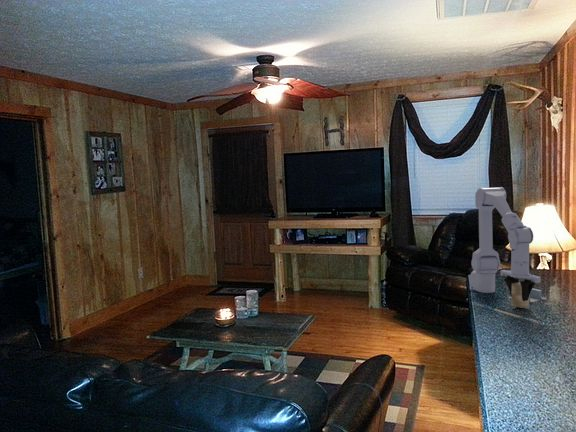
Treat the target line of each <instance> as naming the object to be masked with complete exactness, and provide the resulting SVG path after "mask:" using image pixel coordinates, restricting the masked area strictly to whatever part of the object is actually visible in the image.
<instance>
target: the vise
mask: <svg viewBox="0 0 576 432" xmlns="http://www.w3.org/2000/svg"><path fill="white" fill-rule="evenodd" d="M542 294H543V293H542V290H541V289H537V288H534V287H533V288H532V290H531V292H530V295H529V304H530V303H535V302H538V301H543V300H546V299H548V298H547V297H543V296H542ZM507 298H509V299H511V296H507Z"/></svg>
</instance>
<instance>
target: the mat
mask: <svg viewBox="0 0 576 432" xmlns="http://www.w3.org/2000/svg"><path fill="white" fill-rule="evenodd" d="M493 311H494V312H497V313H501V314H503V315H508V316H511V317H515V318H517V319H519V318H523V317H526V315H524V314H519V313H515V312H512V311H509V310H506V309H501V308H494V309H493Z"/></svg>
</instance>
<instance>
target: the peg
mask: <svg viewBox="0 0 576 432" xmlns="http://www.w3.org/2000/svg"><path fill="white" fill-rule="evenodd" d="M520 282H521V281H519V282H517V283H512V295H511V294H510V297H511V298H510V299H511V300H510V301H511V302H510V305H511V306H513V307H516V308H520V309H522V308H523V309H524V308H526V307H527V308H528V307H529V306H530V303H529V298H528V300H527V301H523V299H522V287H521V284H520Z"/></svg>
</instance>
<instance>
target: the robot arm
mask: <svg viewBox="0 0 576 432" xmlns="http://www.w3.org/2000/svg"><path fill="white" fill-rule="evenodd" d="M474 200H475V201H474V202H475V208H477V209H478V239H479V241H478V242H479V245H478V246H479V248H477V250H475V251H474V252H472V259H471V264H470V265H471V269H472V271H471V272H470V276H469V291H472V290H473V291H475V292H479V293H485V294H486V293H487V294H492V293H495V292H496V273H497V272H498V271H499V270H500V268H501V260H500V254H499V253H498V252H497V251H496V250H495V249H494V244H493V243H494V242H493V240H494V239H493V210H494V209H496V210H497V211H498V213H499V214H500V216H501V217H502V218H501V223H502V225H503V226H504V228H505V229H506V231H507V233H508V234H507V239H508V243H509V249H511V251H510V252H511V253H510V254H511V255H510V270H508V269H507V270H506V269H502V270H500V276H501V277H505V278H504V280H503V281H504V282H505V283H506V285H507V287H508V290H509V294H510V296H511V295H512V283H517V282H520V284H521V287H522V299H523V301H527V300H528V298H529V295H530V292H531V290H532V288H533V289H534V287H535V285H536V284H540V283H542V282H541V281H542V279H541V278H542V277H541V276H538V275H536V274H535V275H534V274H531V273H530V244H532V243H533V241H534V233H533V230H532V228H531V227H528V226H527V225H524V223H523V221H522V220H521V219H520V216H519V215H518V214H517V213H516V212H512V210H511V207H510V205H509V203H508V202H507V191H506V189H505V188H504V187H502V186H500V187H479V188H478V189H477V190H476V191H475V199H474ZM520 280H522V281H520Z"/></svg>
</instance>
